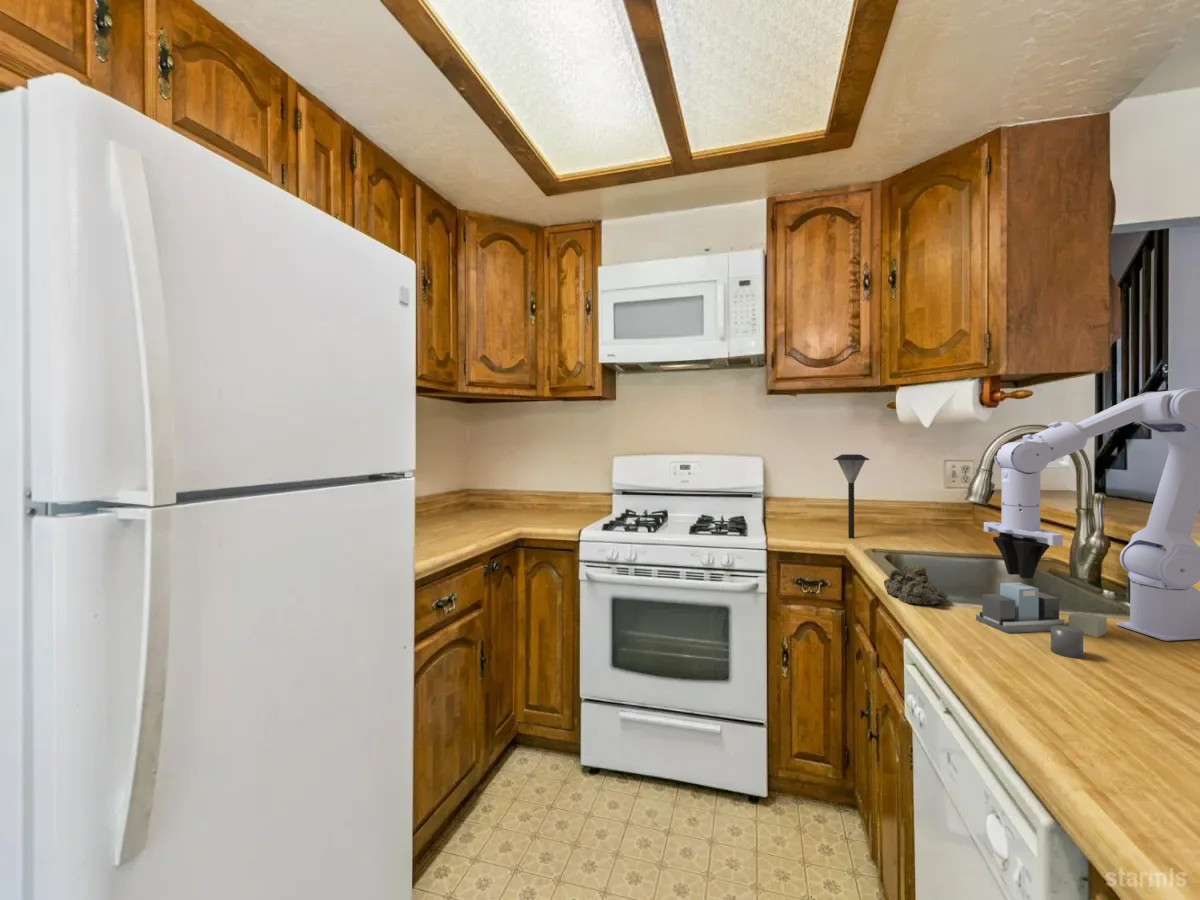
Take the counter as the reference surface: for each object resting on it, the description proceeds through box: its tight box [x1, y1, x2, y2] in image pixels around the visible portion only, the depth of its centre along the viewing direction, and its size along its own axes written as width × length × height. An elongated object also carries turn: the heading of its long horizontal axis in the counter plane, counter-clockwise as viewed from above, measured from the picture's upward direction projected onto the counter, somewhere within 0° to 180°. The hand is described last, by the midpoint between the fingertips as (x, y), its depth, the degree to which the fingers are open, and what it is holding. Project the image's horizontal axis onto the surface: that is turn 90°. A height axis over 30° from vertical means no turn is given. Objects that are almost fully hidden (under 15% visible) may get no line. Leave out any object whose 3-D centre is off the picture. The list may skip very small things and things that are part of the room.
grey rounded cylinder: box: [1050, 625, 1084, 659], centre depth 85 cm, size 4×4×4 cm
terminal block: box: [1068, 611, 1107, 638], centre depth 94 cm, size 4×4×3 cm
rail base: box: [975, 591, 1068, 634], centre depth 98 cm, size 12×7×6 cm, turn 95°
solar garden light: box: [832, 453, 871, 539], centre depth 183 cm, size 12×12×30 cm
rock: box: [883, 565, 948, 606], centre depth 115 cm, size 13×10×10 cm
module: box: [999, 582, 1040, 621], centre depth 97 cm, size 4×4×6 cm
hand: (1020, 575), depth 97 cm, fingers open, 2 cm apart
